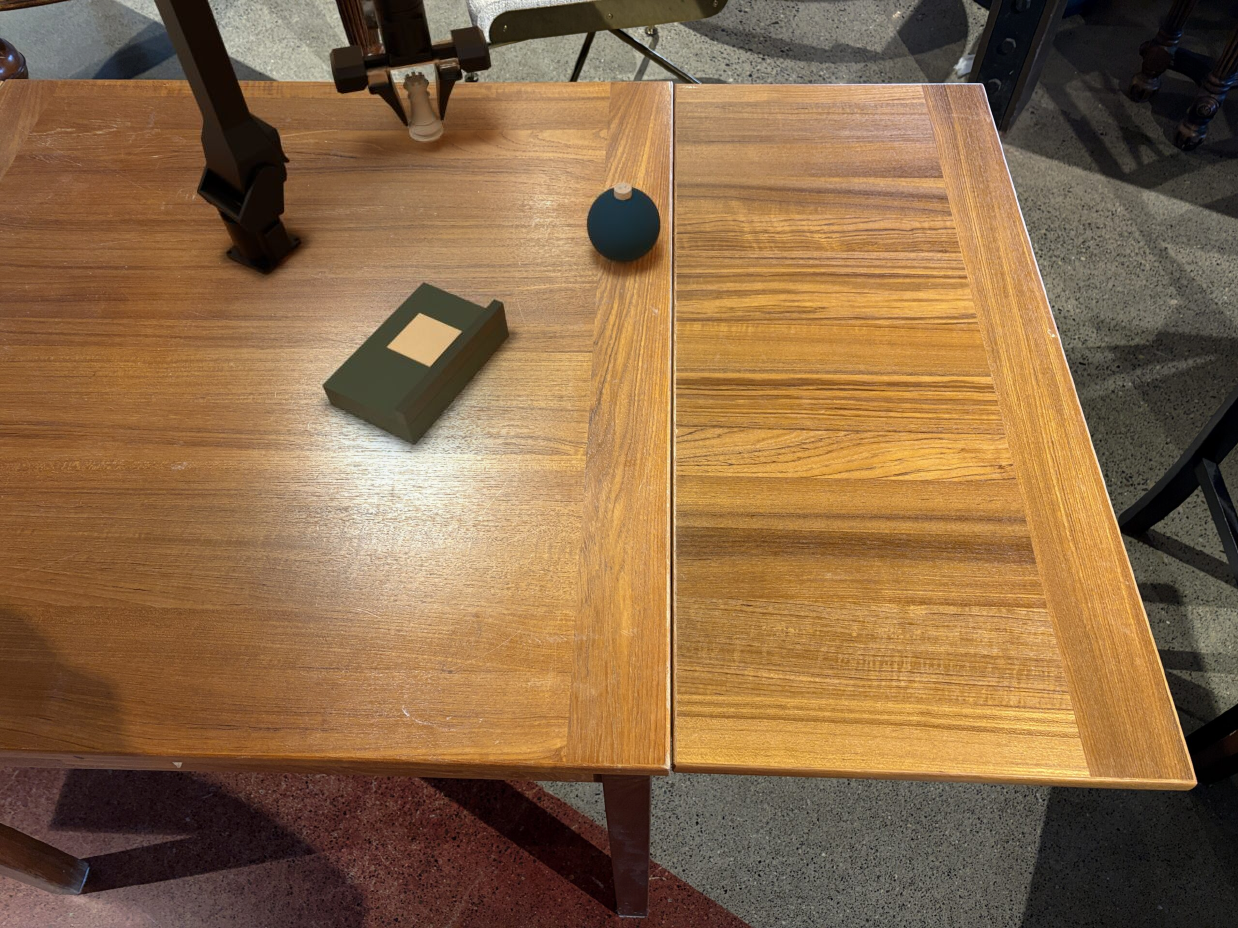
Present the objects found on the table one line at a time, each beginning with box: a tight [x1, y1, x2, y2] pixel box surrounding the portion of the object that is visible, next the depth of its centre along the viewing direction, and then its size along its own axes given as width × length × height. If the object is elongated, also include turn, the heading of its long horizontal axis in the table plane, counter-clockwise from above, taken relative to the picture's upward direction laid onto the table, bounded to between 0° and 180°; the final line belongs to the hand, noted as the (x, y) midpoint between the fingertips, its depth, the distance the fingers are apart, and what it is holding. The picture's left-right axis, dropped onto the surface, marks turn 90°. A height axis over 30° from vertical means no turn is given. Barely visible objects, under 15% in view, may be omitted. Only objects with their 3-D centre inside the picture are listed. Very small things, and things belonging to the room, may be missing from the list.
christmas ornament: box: [586, 181, 662, 264], centre depth 101 cm, size 8×8×10 cm
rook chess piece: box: [402, 71, 445, 144], centre depth 113 cm, size 4×4×8 cm
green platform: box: [322, 281, 510, 446], centre depth 93 cm, size 11×17×5 cm, turn 150°
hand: (424, 121), depth 115 cm, fingers closed on rook chess piece, 4 cm apart
